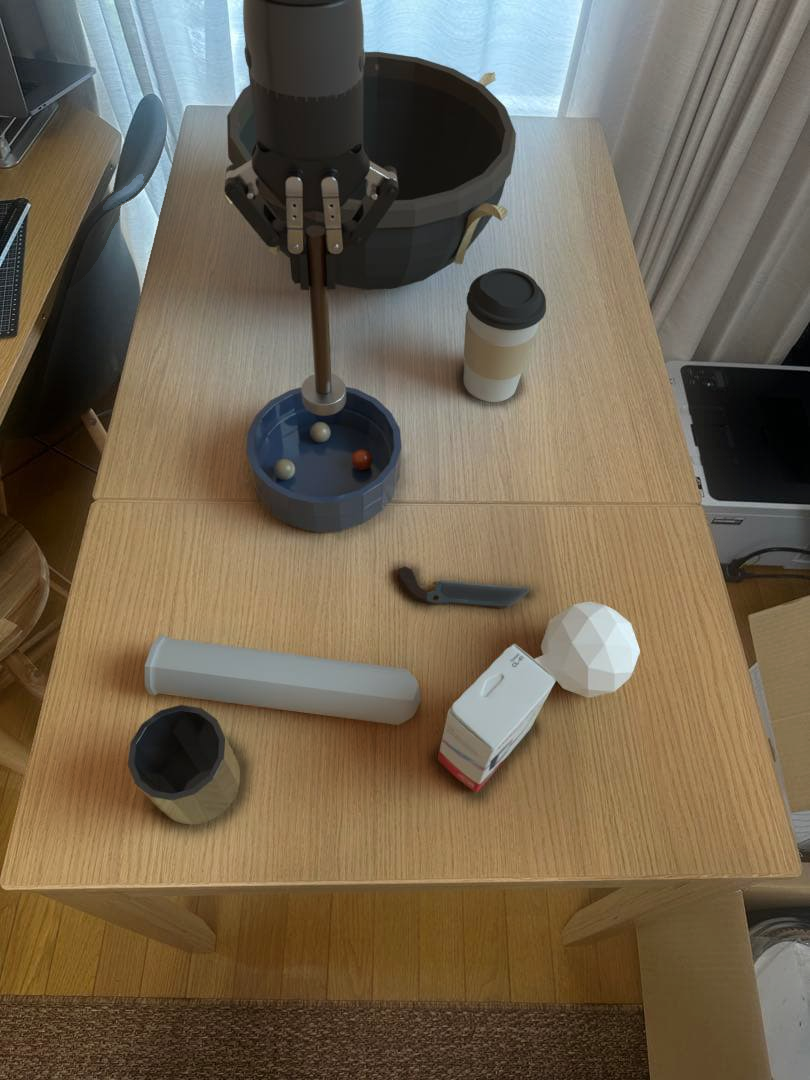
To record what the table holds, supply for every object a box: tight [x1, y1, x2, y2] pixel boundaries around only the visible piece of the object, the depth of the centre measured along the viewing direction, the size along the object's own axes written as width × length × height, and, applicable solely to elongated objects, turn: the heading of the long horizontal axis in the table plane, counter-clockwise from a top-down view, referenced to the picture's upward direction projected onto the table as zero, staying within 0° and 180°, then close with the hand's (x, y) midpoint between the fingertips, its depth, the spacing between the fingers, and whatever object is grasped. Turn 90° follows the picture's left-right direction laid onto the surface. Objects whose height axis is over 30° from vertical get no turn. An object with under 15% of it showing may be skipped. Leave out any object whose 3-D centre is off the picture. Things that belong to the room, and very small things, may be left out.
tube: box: [143, 633, 422, 726], centre depth 69 cm, size 5×5×25 cm
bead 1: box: [273, 459, 295, 480], centre depth 83 cm, size 2×2×2 cm
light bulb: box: [533, 600, 641, 699], centre depth 70 cm, size 9×9×12 cm
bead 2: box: [310, 422, 331, 443], centre depth 86 cm, size 2×2×2 cm
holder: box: [127, 704, 241, 826], centre depth 62 cm, size 7×8×9 cm
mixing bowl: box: [245, 386, 403, 533], centre depth 83 cm, size 17×17×6 cm
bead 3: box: [351, 449, 372, 470], centre depth 84 cm, size 2×2×2 cm
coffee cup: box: [463, 267, 547, 403], centre depth 88 cm, size 9×9×15 cm
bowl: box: [222, 51, 517, 291], centre depth 98 cm, size 35×35×20 cm
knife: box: [397, 566, 531, 609], centre depth 77 cm, size 14×4×1 cm, turn 86°
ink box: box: [437, 643, 557, 793], centre depth 64 cm, size 9×5×12 cm, turn 137°
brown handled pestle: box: [300, 226, 347, 416], centre depth 66 cm, size 4×4×19 cm
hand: (317, 283), depth 63 cm, fingers closed on brown handled pestle
